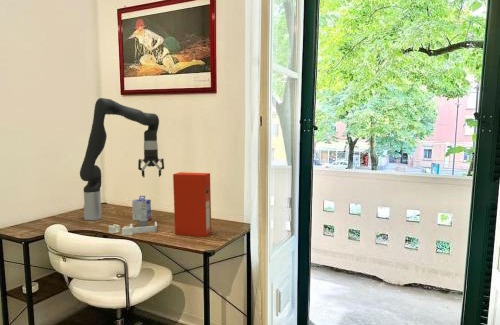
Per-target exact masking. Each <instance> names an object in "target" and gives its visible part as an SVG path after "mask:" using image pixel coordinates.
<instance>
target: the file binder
mask: <svg viewBox="0 0 500 325" xmlns="http://www.w3.org/2000/svg"><path fill="white" fill-rule="evenodd" d="M172 179H173V180H172V181H173V183H172V184H173V213H174V234H175V235H178V236H190V237H200V236H201V237H202V238H207V237H208V236H209V235H210V234H211V233H212V205H211V204H212V202H211V173H210V172H185V171H184V172H183V171H182V172H181V171H180V172H176V173H173V174H172Z"/></svg>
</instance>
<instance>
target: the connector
mask: <svg viewBox="0 0 500 325" xmlns="http://www.w3.org/2000/svg"><path fill="white" fill-rule="evenodd" d="M138 221H139V227H146V226H148V220H147V218H140V220H138Z"/></svg>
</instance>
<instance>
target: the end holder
mask: <svg viewBox="0 0 500 325" xmlns="http://www.w3.org/2000/svg"><path fill="white" fill-rule="evenodd" d="M129 227H133V228H132V233H133V234H132V235H134V234H143V233H154V232H158V222H157V221H154V225H147V226H146V227H140V226H137V227H134V226H133V223H130V225H129Z"/></svg>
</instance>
